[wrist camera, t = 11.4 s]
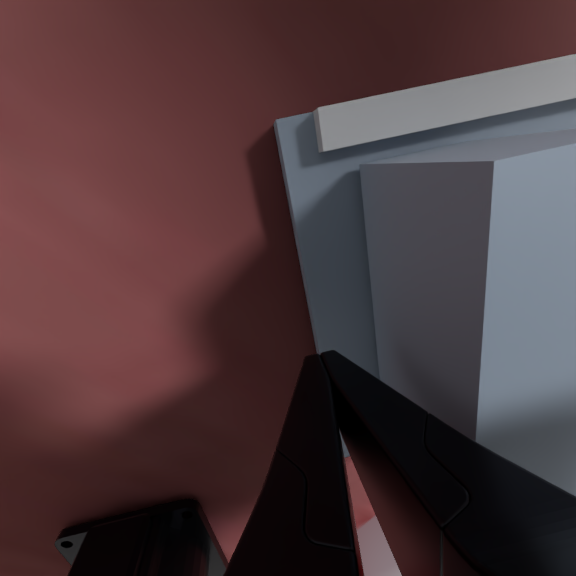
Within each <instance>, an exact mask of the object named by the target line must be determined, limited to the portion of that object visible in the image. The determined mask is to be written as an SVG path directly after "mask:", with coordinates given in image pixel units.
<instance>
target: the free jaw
mask: <svg viewBox="0 0 576 576" xmlns="http://www.w3.org/2000/svg"><path fill="white" fill-rule="evenodd" d="M359 167H360V177H361V188H362V198H363V209H364V219H365V229H366V240H367V250H368V261H369V271H370V282H371V292H372V303H373V313H374V324H375V334H376V344H377V355H378V365H379V376H380V380H381V381H382V382H384V383H385V384H387V385H388V386H390V387H391V388H393V389H394V390H396V391H397V392H399V393H400V394H402V395H403V396H405V397H407V398H408V399H410V400H411V401H413V402H414V403H416V404H417V405H419V406H420V407H422V408H423V409H425V410H426V411H427V412H428V414H429V413H431V414H432V415H434V416H435V417H437V418H438V419H440V420H441V421H443V422H444V423H446V424H448V425H449V426H451V427H452V428H454V429H456V430H457V431H459V432H460V433H462V434H464V435H465V436H467V437H469V438H470V439H472V440H474V441H476V442H477V443H479V444H481V445H483V446H484V447H486V448H488V449H490V450H491V451H493V452H495V453H497V454H499V455H500V456H502V457H504V458H506V459H508V460H510V461H511V462H513V463H515V464H517V465H519V466H521V467H523V468H524V469H526V470H528V471H530V472H532V473H534V474H535V475H537V476H539V477H541V478H543V479H545V480H547V481H548V482H550V483H552V484H554V485H556V486H558V487H559V488H561V489H563V490H565V491H567V492H569V493H570V494H572V495H574V496H576V128H575V129H567V130H559V131H550V132H542V133H533V134H525V135H516V136H508V137H499V138H491V139H482V140H474V141H465V142H460V143H455V144H451V145H446V146H441V147H437V148H432V149H427V150H423V151H418V152H414V153H409V154H404V155H400V156H395V157H390V158H386V159H381V160H376V161H372V162H367V163H362V164H359Z"/></svg>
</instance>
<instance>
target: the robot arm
mask: <svg viewBox="0 0 576 576" xmlns="http://www.w3.org/2000/svg"><path fill="white" fill-rule="evenodd" d="M340 432H341V435H342V438H343V440H344V443H345V445H346V447H347V449H348V452H349V454H350V456H351V459H352V461H353V463H354V466H355V468H356V470H357V473H358V475H359V477H360V480H361V482H362V484H363V486H364V489H365V491H366V493H367V496H368V498H369V500H370V503H371V505H372V507H373V510H374V512H375V514H376V517H377V519H378V521H379V523H380V526H381V528H382V530H383V532H384V535H385V537H386V540H387V541H388V544H389V546H390V549H391V551H392V553H393V556H394V558H395V560H396V563H397V565H398V567H399V570H400V572H401V574H402V576H576V496H574V495H572V494H570V493H569V492H567V491H565V490H563V489H561V488H559V487H558V486H556V485H554V484H552V483H550V482H548V481H547V480H545V479H543V478H541V477H539V476H537V475H535V474H534V473H532V472H530V471H528V470H526V469H524V468H523V467H521V466H519V465H517V464H515V463H513V462H511V461H510V460H508V459H506V458H504V457H502V456H500V455H499V454H497V453H495V452H493V451H491V450H490V449H488V448H486V447H484V446H483V445H481V444H479V443H477V442H476V441H474V440H472V439H470V438H469V437H467V436H465V435H464V434H462V433H460V432H459V431H457V430H456V429H454V428H452V427H451V426H449V425H448V424H446V423H444V422H443V421H441V420H440V419H438V418H437V417H435V416H434V415H432V414H431V413H429V414H428V412H427V411H426V410H425V409H423V408H422V407H420V406H419V405H417V404H416V403H414V402H413V401H411V400H410V399H408V398H407V397H405V396H403V395H402V394H400V393H399V392H397V391H396V390H394V389H393V388H391V387H390V386H388V385H387V384H385V383H384V382H382V381H381V380H379V379H378V378H376V377H375V376H373V375H372V374H370V373H369V372H367V371H366V370H364V369H363V368H361V367H360V366H358V365H357V364H355V363H354V362H352V361H351V360H349V359H348V358H346V357H345V356H343V355H342V354H340V353H339V352H337V351H336V350H329V351H325V352H322V353H321V354H318V353H317V354H313V355H308V356H306V357H305V358H304V361H303V365H302V368H301V371H300V374H299V377H298V380H297V383H296V387H295V390H294V393H293V396H292V399H291V402H290V406H289V409H288V412H287V415H286V418H285V421H284V424H283V428H282V431H281V434H280V437H279V440H278V443H277V446H276V451H275V452H274V455H273V459H272V462H271V465H270V468H269V471H268V473H267V476H266V479H265V482H264V485H263V487H262V490H261V492H260V495H259V497H258V499H257V502H256V504H255V506H254V509H253V511H252V514H251V516H250V518H249V520H248V522H247V525H246V527H245V529H244V531H243V533H242V536H241V538H240V540H239V542H238V544H237V546H236V549H235V551H234V553H233V555H232V557H231V560H230V562H229V563H228V561H227V559H226V557H225V555H224V553H223V551H222V549H221V547H220V545H219V543H218V541H217V539H216V536H215V534H214V532H213V530H212V528H211V526H210V524H209V522H208V520H207V518H206V516H205V514H204V512H203V510H202V508H201V506H200V504H199V502H198V501H197V500H194V499H184V500H180V501H176V502H171V503H167V504H163V505H159V506H155V507H151V508H147V509H143V510H139V511H135V512H131V513H126V514H122V515H118V516H114V517H110V518H106V519H102V520H98V521H94V522H90V523H86V524H82V525H77V526H73V527H69V528H66V529H63V530H62V531H61V532H60V534H59V536H58V538H57V539H56V541H55V547H56V548H57V549H58V550H59V552H60V553H61V554H62V555H63V556H64V558H65V559H66V560H67V561H68V562H69V563H70V565H71V568H70V570H69V573H68V575H67V576H364V572H363V566H362V559H361V553H360V548H359V542H358V536H357V530H356V524H355V518H354V512H353V506H352V500H351V494H350V488H349V482H348V476H347V470H346V464H345V458H344V452H343V446H342V440H341V435H340Z"/></svg>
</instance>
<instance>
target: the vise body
mask: <svg viewBox="0 0 576 576" xmlns="http://www.w3.org/2000/svg"><path fill="white" fill-rule="evenodd" d="M273 125H274V130H275V136H276V141H277V146H278V151H279V157H280V162H281V167H282V172H283V178H284V183H285V188H286V194H287V199H288V204H289V209H290V215H291V220H292V225H293V230H294V236H295V241H296V246H297V251H298V257H299V262H300V267H301V273H302V278H303V283H304V288H305V294H306V299H307V304H308V309H309V315H310V320H311V325H312V330H313V336H314V341H315V346H316V352H317V353H318V354H321V353H322V352H325V351H329V350H336V351H337V352H339V353H340V354H342V355H343V356H345V357H346V358H348V359H349V360H351V361H352V362H354V363H355V364H357V365H358V366H360V367H361V368H363V369H364V370H366V371H367V372H369V373H370V374H372V375H373V376H375V377H376V378H378V379H379V380H380V376H379V365H378V355H377V344H376V334H375V324H374V313H373V303H372V292H371V282H370V271H369V261H368V250H367V240H366V229H365V219H364V209H363V198H362V188H361V177H360V167H359V164H362V163H367V162H372V161H376V160H381V159H386V158H390V157H395V156H400V155H404V154H409V153H414V152H418V151H423V150H427V149H432V148H437V147H441V146H446V145H451V144H455V143H460V142H465V141H474V140H482V139H491V138H499V137H508V136H516V135H525V134H533V133H542V132H550V131H559V130H567V129H575V128H576V54H573V55H568V56H563V57H558V58H554V59H549V60H544V61H539V62H534V63H530V64H525V65H520V66H515V67H510V68H506V69H501V70H496V71H491V72H486V73H482V74H477V75H472V76H467V77H462V78H458V79H453V80H448V81H443V82H438V83H434V84H429V85H424V86H419V87H414V88H410V89H405V90H400V91H395V92H390V93H386V94H381V95H376V96H371V97H367V98H362V99H357V100H352V101H347V102H343V103H338V104H333V105H328V106H323V107H319V108H317V109H316V110H314V111H313V112H310V113H305V114H300V115H295V116H290V117H286V118H281V119H276V120H275V122H274V124H273ZM340 435H341V432H340ZM341 440H342V446H343V452H344V457H348V456H350V454H349V452H348V449H347V447H346V445H345V443H344V440H343V438H342V435H341Z"/></svg>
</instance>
